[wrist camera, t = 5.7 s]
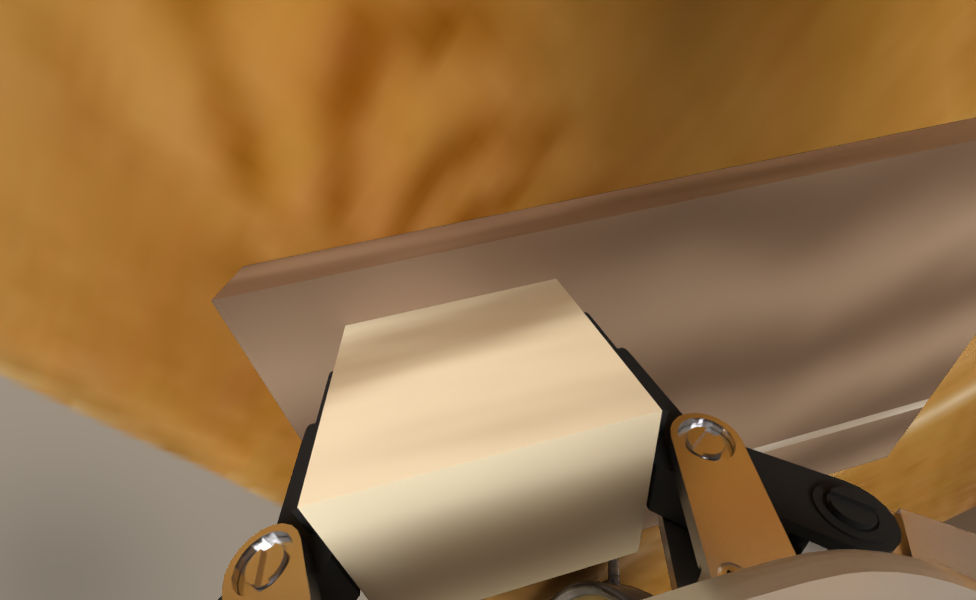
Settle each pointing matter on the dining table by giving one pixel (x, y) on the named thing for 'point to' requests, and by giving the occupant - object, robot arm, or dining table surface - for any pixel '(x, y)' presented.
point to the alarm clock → (602, 588)
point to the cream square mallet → (479, 448)
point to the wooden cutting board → (693, 290)
